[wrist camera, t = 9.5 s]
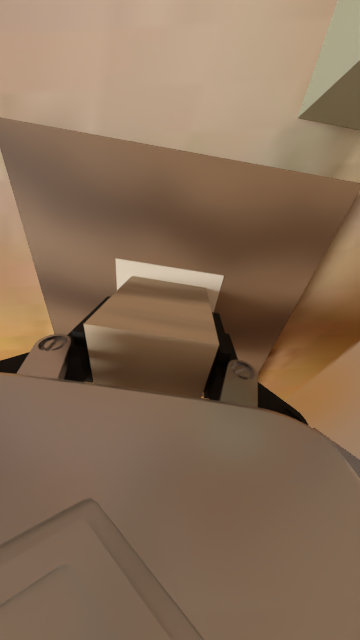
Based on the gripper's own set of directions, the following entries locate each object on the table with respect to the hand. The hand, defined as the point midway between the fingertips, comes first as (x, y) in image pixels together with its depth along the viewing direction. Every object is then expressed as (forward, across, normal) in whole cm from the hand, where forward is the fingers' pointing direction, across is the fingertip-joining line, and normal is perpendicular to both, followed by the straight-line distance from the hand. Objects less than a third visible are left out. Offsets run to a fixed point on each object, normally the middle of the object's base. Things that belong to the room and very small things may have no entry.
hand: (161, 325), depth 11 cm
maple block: (+2, 0, 0) cm, 2 cm away
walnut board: (+4, 0, 0) cm, 4 cm away
